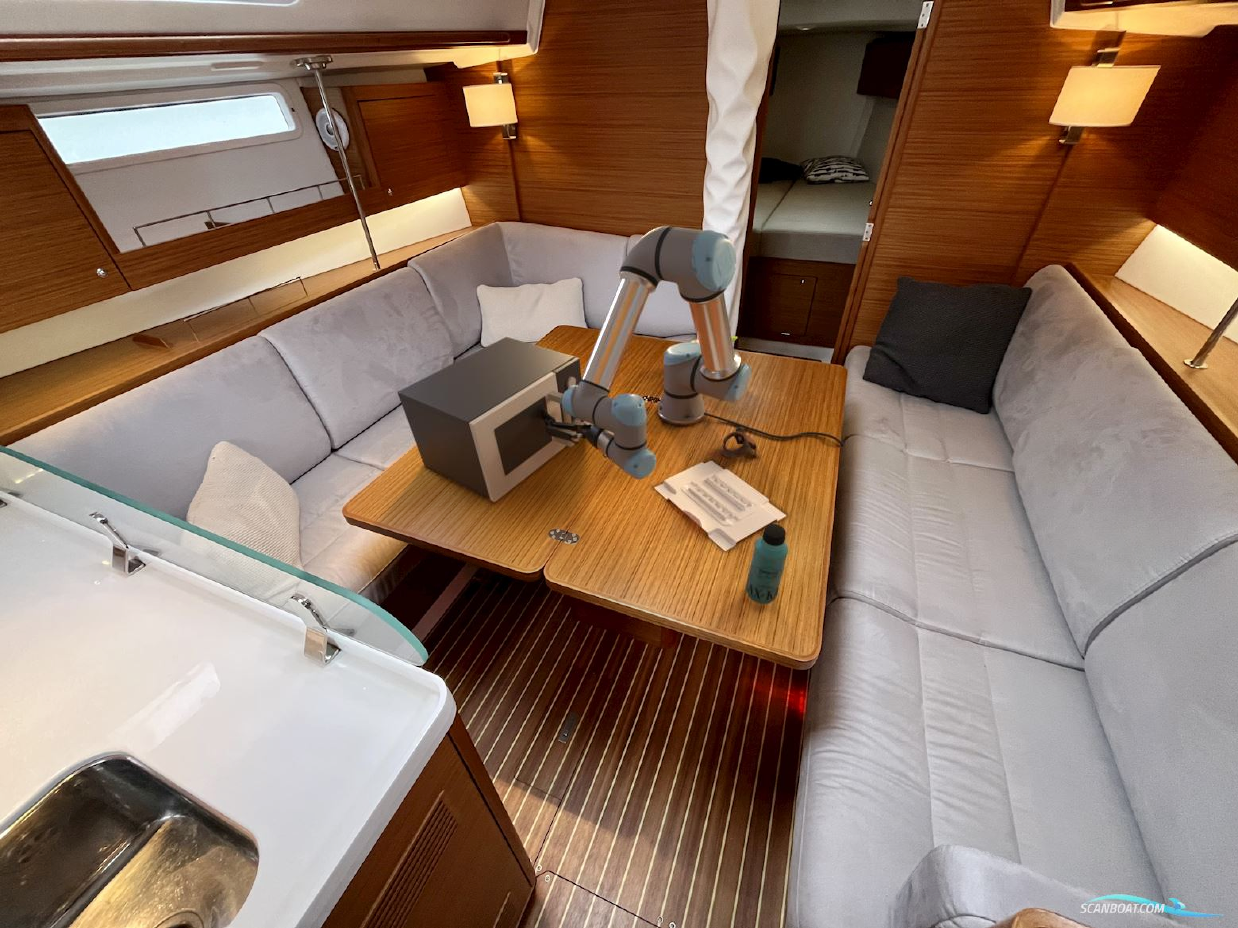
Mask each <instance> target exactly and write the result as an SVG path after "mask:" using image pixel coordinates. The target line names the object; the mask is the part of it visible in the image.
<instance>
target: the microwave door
mask: <svg viewBox="0 0 1238 928" xmlns="http://www.w3.org/2000/svg"><path fill="white" fill-rule="evenodd" d="M563 395H564V394H562V393H559V392H558V388H557V381H556V374H555V373H553V372H550V373H548V374H547V375H545V376H544V377H542V378H540V379H539V380H537V381H536V382H534V383H532V384H531V385H529V386H528V387H526V388H524V389H523V390H521V391H520V392H518V393H516V394H515V395H513V396H511V397H510V398H508V399H507V400H505V401H503V402H502V403H500V404H499V405H497V406H495V407H494V408H492V409H491V410H489V411H487V412H486V413H484V414H483V415H481V416H479V417H478V418H476V419H475V420H473V421H471V422H470V423H469V425H470V429H471V432H472V436H473V440H474V443H475V447H476V450H477V454H478V457H479V461H480V465H481V468H482V472H483V475H484V479H485V483H486V486H487V490H488V493H489V497H490V500H489V501H491V502H493V503H496V502H497V501H498V500H500V499H501V498H502V497H504V496H505V495H506V494H507V493H508V492H510V491H511V490H512V489H514V488H515V487H516V486H517V485H519V484H520V483H521V482H523V481H524V480H525V479H526V478H528V477H529V476H530V475H532V474H533V473H534V472H535V471H537V470H538V469H540V467H542V466H543V465H544V464H546V463H547V462H548V461H549V460H550V459H552V458H553V457H554V456H556V454H558V453H559V452H561V451H562V450H563V449H564V448H565V447H566V446H567V447H569V448H572V447H574V445H575V444H574V443H573V442H571V441H568V440H564V439H560V438H556V437H552V436H549V435H547V433H546V427H545V426H546V425H545V421H544V420H543V419H542V414H541V410H544V411H546V412H547V413H548V414H549V415H550V416H552V417H553V418H554V419H555V420H556V422H562V417H561V409H560V404H562V399H563ZM562 411H563V418H564V423H571V416H570V415H569V414H567V413H566V412H565V411H564V409H563V406H562Z"/></svg>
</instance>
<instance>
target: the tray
mask: <svg viewBox="0 0 1238 928" xmlns="http://www.w3.org/2000/svg"><path fill="white" fill-rule="evenodd" d="M654 489H655V490H656V492H658V493H659V494H660V495H661V496H662V497H663V498H664V499H666V500H670V501H671V502H672V503H673V504H675V506H677V507H678V508H679V509H680V510H681V511H682V512H683V513H684V514H686V515H687V516H688V517H689V518H690V519H691V520H692V521H693V522H695V523H696V524H697V525H698V526H699V527H700V528H701V529H702V530H704V531H705V532H706V533H707V537H708V538H709V539H710V540H711V541H713V542H714V543H715V544H716V545H717V546H718V547H720V549H721V550H723V551H724V552H727V551H728V550H730V549H732V548H734V547H735V546H736V544H737V543H738V542H739V541H741V540H743V539H745V538H747V537H748V536H750V535H751V534H753V533H755V532H757V531H759V530H761V529H762V528H765V527H766V526H767V525H769V524H772V523H773V522H774V521H777V522H778V521H781V520H782V519H783V518H786V517H787V515H786V514H785V513H784V512H782V511H781V510H780V509H778V508H777V507H776V506H774V505H773V504H771V503H770V499H769V498H768V497H767V496H765V495H764V494H762V493H761V492H760V491H758V490H757V489H755V488H754V487H753V486H752V485H750V484H748V483H747V482H745V481H744V480H743V479H741V478H740V477H739V476H737V475H736V474H735V473H733V472H732V471H731V470H729V469H728V468H725V469H724V468H723V467H721V465H718V464H717V463H716V462H714V461H713V460H709V461H707V462H705V463H704V462H703V461H702V462H700V463H697V464H696V465H693V466H691V467H689V468H687V469H685V470H683V471H681V472H679V473H676V474H674V475H672V476H670V477H668V478H666V479H664V480H663V483H661V484H659V485H656V486H654Z"/></svg>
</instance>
